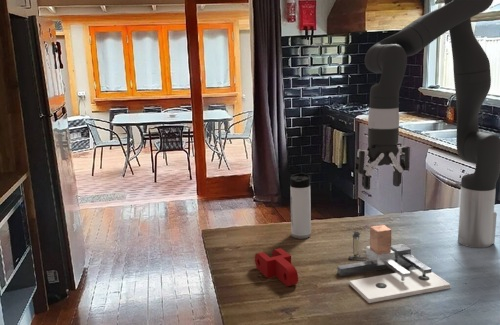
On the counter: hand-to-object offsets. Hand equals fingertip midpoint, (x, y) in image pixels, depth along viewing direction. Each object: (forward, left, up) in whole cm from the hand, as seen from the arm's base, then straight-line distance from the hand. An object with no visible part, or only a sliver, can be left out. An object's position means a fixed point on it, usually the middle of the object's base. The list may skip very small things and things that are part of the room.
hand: (381, 187), depth 128 cm
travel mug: (+11, -30, -23) cm, 39 cm away
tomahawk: (-2, -15, -23) cm, 28 cm away
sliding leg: (0, +5, -21) cm, 22 cm away
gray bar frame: (+1, +5, -23) cm, 23 cm away
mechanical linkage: (+27, -5, -23) cm, 36 cm away
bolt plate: (+1, +11, -23) cm, 25 cm away
